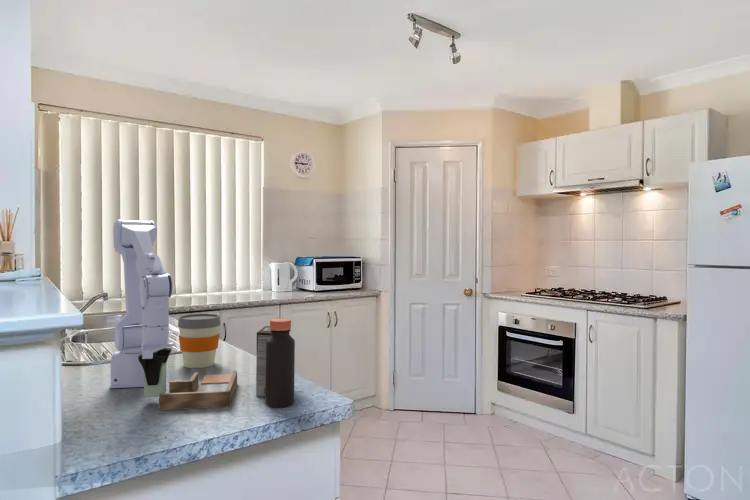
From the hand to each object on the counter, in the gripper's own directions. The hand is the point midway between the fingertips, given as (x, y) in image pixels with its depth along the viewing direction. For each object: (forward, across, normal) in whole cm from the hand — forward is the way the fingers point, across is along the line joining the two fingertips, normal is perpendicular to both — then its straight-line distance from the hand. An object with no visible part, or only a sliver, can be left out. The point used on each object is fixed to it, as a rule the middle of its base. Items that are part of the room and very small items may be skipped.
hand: (155, 382), depth 115 cm
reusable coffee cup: (+5, +36, -4) cm, 37 cm away
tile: (+5, +18, -12) cm, 22 cm away
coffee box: (+5, +5, -27) cm, 28 cm away
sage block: (+3, 0, 0) cm, 3 cm away
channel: (+5, +4, -10) cm, 12 cm away
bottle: (+5, -5, -29) cm, 30 cm away
